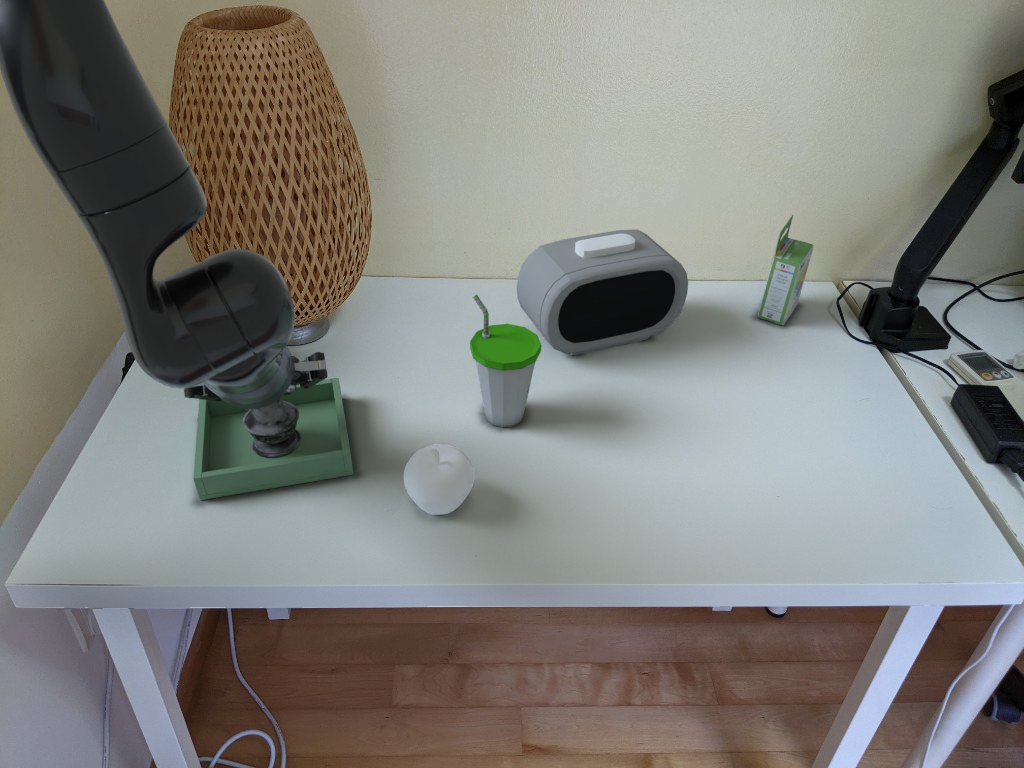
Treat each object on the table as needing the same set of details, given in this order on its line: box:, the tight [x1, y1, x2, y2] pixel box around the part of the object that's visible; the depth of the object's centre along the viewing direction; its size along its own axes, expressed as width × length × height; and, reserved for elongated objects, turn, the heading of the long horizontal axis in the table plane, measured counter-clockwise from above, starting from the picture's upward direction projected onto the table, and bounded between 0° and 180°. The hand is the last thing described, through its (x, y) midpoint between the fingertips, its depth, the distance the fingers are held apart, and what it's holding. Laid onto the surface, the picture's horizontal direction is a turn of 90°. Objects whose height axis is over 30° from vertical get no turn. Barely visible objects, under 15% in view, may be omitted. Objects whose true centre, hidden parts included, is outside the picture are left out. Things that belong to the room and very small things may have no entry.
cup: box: [469, 293, 542, 428], centre depth 87 cm, size 8×8×15 cm
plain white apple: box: [403, 443, 476, 516], centre depth 77 cm, size 7×7×8 cm
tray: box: [192, 377, 354, 501], centre depth 85 cm, size 16×14×3 cm
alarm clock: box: [516, 228, 689, 357], centre depth 102 cm, size 21×10×13 cm, turn 112°
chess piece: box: [243, 397, 301, 458], centre depth 82 cm, size 6×6×12 cm
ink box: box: [757, 214, 815, 326], centre depth 107 cm, size 7×4×13 cm, turn 148°
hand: (266, 388), depth 84 cm, fingers closed on chess piece, 3 cm apart
